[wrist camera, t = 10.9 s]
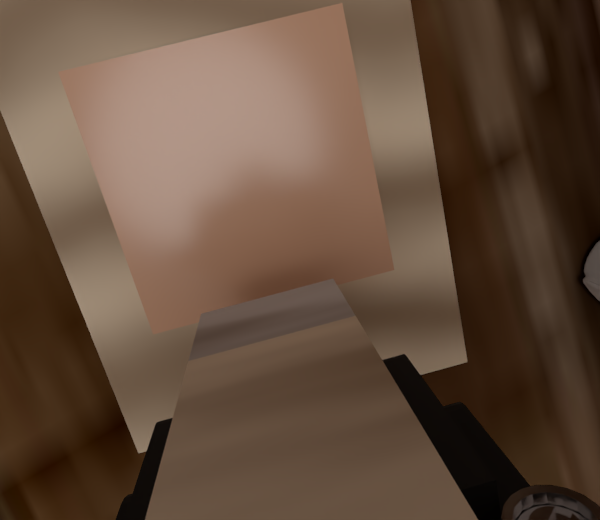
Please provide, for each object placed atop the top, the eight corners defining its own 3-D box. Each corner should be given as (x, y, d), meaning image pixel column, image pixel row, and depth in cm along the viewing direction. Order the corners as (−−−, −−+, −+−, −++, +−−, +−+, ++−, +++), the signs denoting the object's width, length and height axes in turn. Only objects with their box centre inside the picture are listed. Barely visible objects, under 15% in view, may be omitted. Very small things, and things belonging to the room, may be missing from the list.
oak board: (462, 356, 23) (467, 361, 22) (141, 445, 22) (138, 453, 22) (385, -116, 17) (390, -124, 17) (-43, -16, 17) (-53, -21, 16)
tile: (394, 269, 19) (342, 3, 16) (153, 334, 18) (57, 71, 16) (383, 260, 20) (334, 14, 18) (160, 319, 20) (75, 77, 17)
